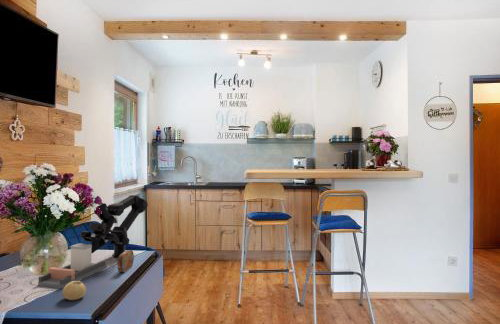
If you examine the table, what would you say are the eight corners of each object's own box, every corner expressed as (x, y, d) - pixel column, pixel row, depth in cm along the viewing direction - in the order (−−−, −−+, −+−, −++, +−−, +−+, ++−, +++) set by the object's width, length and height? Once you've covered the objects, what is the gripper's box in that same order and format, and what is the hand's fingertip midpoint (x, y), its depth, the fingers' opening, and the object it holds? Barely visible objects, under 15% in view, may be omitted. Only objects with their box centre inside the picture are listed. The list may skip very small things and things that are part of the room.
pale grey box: (78, 266, 164) (78, 243, 164) (91, 267, 163) (91, 244, 162) (70, 269, 159) (70, 245, 159) (83, 271, 158) (84, 247, 157)
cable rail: (84, 265, 172) (84, 254, 172) (105, 267, 169) (106, 256, 169) (38, 285, 145) (38, 272, 145) (62, 288, 142) (62, 275, 142)
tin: (122, 274, 160) (123, 256, 160) (115, 274, 160) (116, 256, 160) (134, 264, 175) (134, 247, 175) (128, 264, 175) (128, 247, 175)
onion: (64, 304, 127) (64, 285, 127) (60, 297, 134) (61, 278, 134) (87, 299, 132) (88, 281, 132) (83, 292, 138) (83, 275, 138)
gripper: (82, 215, 175) (66, 242, 164) (115, 217, 170) (100, 245, 160) (93, 227, 182) (77, 254, 172) (124, 230, 178) (111, 257, 168)
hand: (91, 252), depth 168 cm, fingers closed
